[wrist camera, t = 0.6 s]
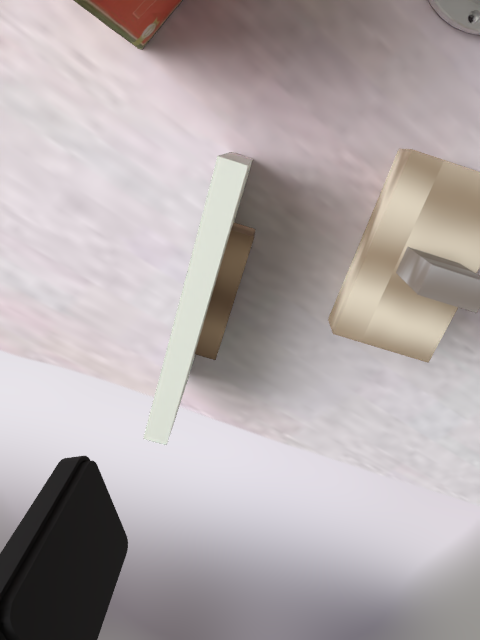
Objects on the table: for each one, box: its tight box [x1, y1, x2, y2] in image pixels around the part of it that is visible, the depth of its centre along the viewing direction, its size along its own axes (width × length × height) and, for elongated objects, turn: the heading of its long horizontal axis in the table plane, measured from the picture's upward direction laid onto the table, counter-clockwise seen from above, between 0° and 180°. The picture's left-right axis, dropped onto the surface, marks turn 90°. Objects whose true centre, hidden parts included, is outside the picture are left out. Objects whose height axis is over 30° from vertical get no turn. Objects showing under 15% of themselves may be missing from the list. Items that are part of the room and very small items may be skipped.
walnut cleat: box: [195, 223, 255, 360], centre depth 39 cm, size 12×2×4 cm, turn 163°
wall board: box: [144, 152, 253, 445], centre depth 37 cm, size 23×2×12 cm, turn 163°
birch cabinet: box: [328, 149, 480, 362], centre depth 34 cm, size 14×8×15 cm, turn 163°
